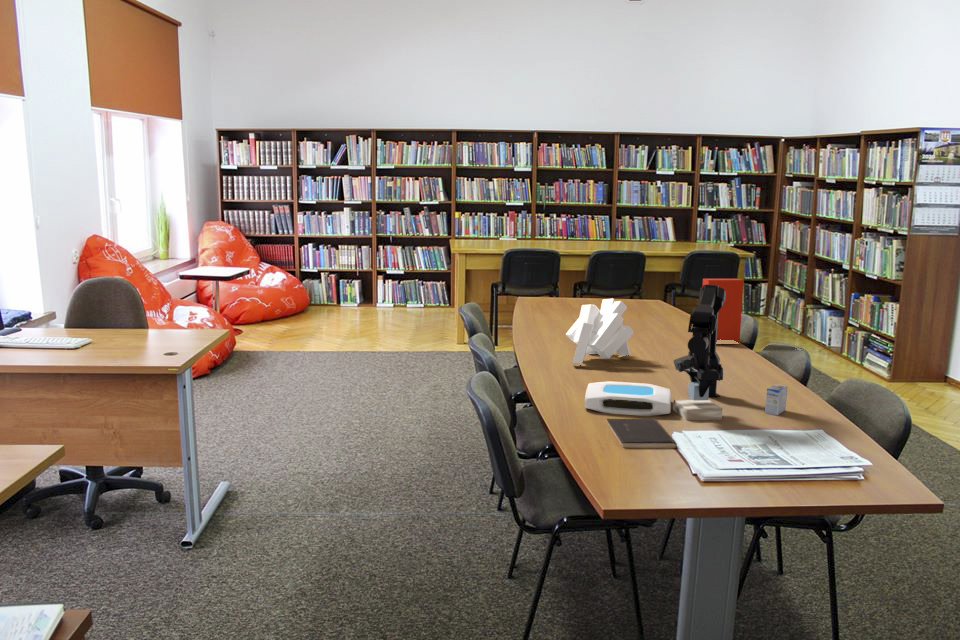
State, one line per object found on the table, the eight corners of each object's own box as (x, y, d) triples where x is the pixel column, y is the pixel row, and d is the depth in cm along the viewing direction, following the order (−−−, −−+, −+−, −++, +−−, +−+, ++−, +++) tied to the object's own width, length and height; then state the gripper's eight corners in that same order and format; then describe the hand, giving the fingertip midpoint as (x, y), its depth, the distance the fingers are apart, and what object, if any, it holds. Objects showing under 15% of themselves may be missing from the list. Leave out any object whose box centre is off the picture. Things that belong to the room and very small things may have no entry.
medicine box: (772, 408, 261) (774, 383, 260) (785, 410, 258) (787, 386, 257) (764, 413, 255) (766, 388, 254) (778, 415, 252) (780, 390, 251)
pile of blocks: (620, 385, 313) (656, 308, 315) (554, 353, 317) (590, 278, 319) (614, 387, 347) (646, 318, 349) (555, 359, 352) (587, 291, 354)
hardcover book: (621, 449, 219) (621, 442, 218) (606, 425, 241) (606, 418, 241) (676, 449, 219) (677, 442, 219) (656, 425, 242) (656, 418, 241)
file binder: (699, 342, 379) (702, 278, 374) (732, 341, 380) (736, 278, 375) (705, 345, 371) (709, 280, 366) (739, 345, 372) (743, 280, 367)
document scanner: (669, 418, 249) (670, 399, 248) (584, 412, 255) (584, 394, 254) (668, 401, 269) (669, 384, 268) (589, 396, 275) (589, 379, 274)
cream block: (673, 411, 258) (673, 399, 257) (706, 410, 259) (707, 398, 259) (686, 421, 246) (686, 409, 245) (721, 420, 247) (722, 408, 247)
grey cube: (687, 396, 254) (688, 382, 253) (702, 396, 254) (703, 381, 254) (693, 400, 249) (694, 385, 248) (708, 400, 250) (709, 385, 249)
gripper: (667, 343, 257) (664, 388, 260) (688, 354, 239) (685, 402, 241) (698, 342, 258) (696, 387, 261) (721, 354, 240) (718, 402, 243)
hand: (698, 394), depth 252 cm, fingers closed on grey cube, 5 cm apart
